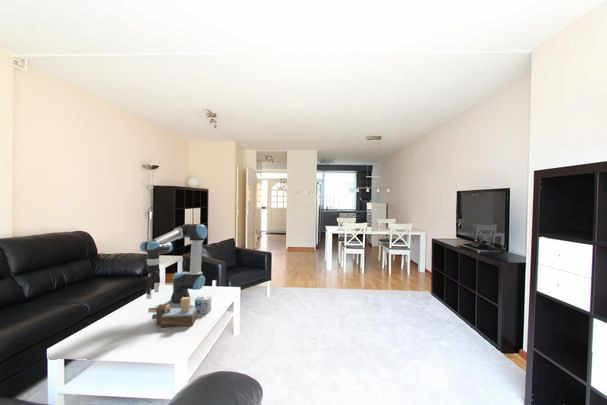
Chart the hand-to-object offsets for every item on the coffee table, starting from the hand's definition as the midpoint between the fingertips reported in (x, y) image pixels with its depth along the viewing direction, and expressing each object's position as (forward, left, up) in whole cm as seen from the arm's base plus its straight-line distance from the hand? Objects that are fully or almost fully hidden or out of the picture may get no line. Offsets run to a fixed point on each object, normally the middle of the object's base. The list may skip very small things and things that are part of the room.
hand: (152, 295), depth 198 cm
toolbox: (0, +16, -20) cm, 25 cm away
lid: (0, +18, -13) cm, 22 cm away
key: (0, +5, -11) cm, 12 cm away
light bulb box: (-19, +30, -20) cm, 41 cm away
